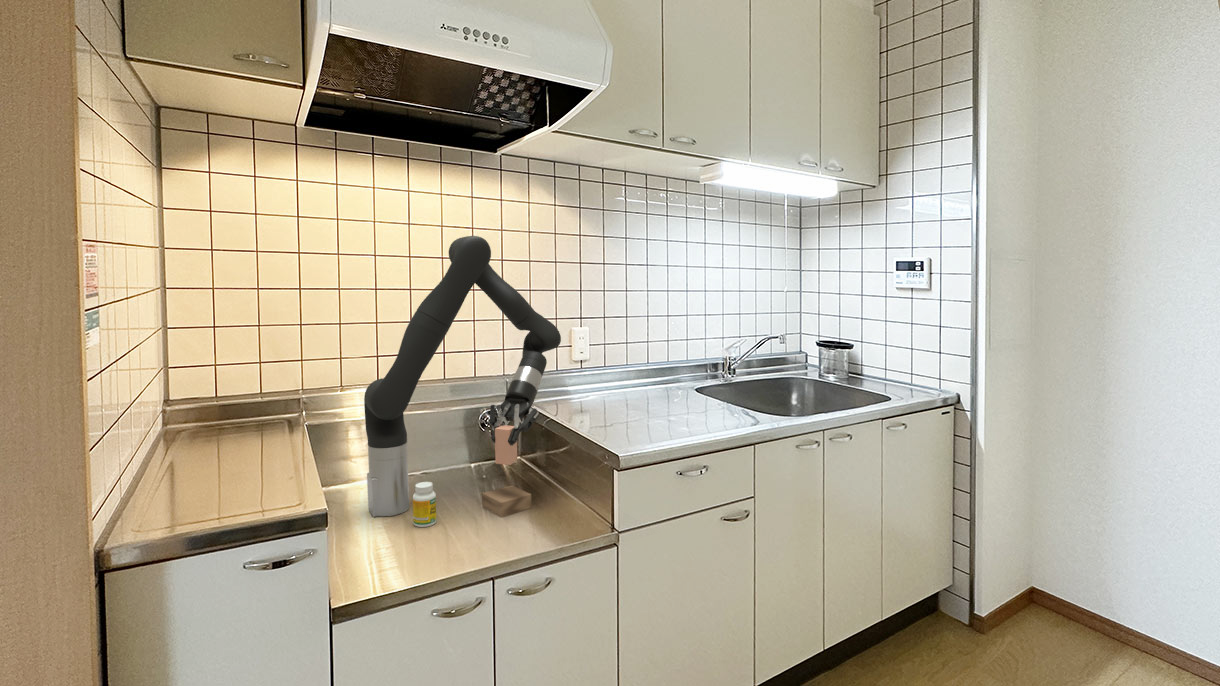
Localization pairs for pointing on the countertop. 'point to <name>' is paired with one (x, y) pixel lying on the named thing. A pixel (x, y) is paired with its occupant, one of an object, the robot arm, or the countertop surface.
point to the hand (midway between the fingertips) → (502, 442)
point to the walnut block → (506, 500)
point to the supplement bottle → (424, 505)
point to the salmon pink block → (504, 446)
